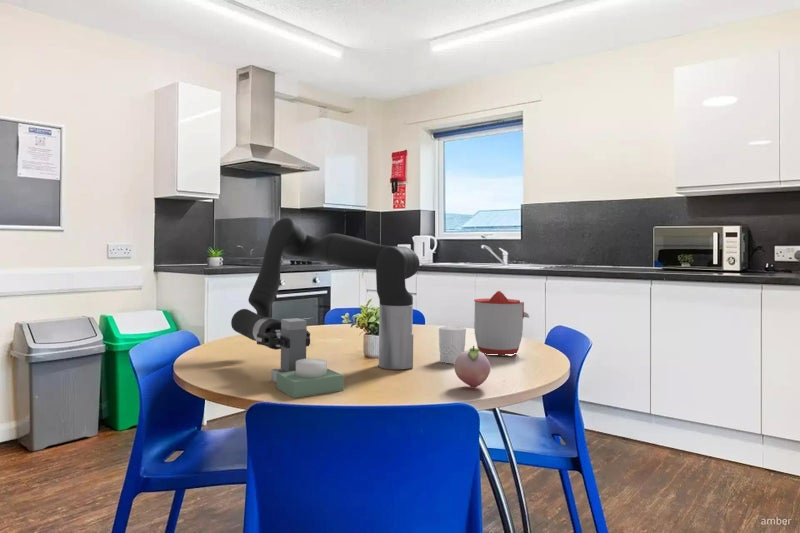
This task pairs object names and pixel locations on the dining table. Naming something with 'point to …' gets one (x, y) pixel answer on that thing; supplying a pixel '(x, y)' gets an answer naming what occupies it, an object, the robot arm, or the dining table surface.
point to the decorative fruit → (472, 367)
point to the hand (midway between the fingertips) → (298, 342)
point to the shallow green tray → (308, 379)
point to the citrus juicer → (499, 324)
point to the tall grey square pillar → (293, 342)
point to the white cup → (451, 342)
